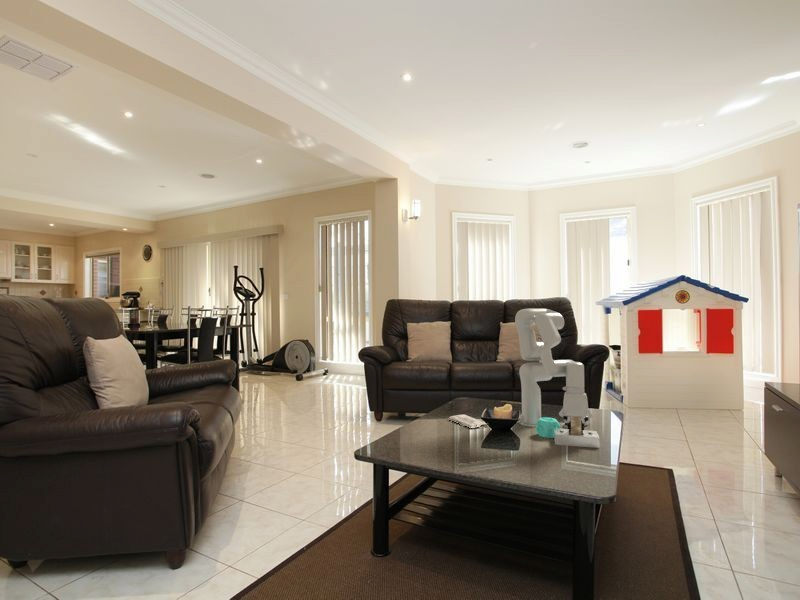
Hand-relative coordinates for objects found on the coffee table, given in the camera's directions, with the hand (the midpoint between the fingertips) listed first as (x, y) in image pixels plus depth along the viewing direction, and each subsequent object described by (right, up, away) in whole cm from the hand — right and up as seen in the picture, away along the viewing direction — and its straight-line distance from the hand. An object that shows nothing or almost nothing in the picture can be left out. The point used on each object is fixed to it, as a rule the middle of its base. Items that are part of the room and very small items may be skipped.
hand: (575, 430), depth 196 cm
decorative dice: (-8, -6, +12) cm, 16 cm away
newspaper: (-43, -7, +34) cm, 56 cm away
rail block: (0, -6, 0) cm, 6 cm away
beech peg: (0, -3, 0) cm, 3 cm away
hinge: (+16, -4, +26) cm, 31 cm away
